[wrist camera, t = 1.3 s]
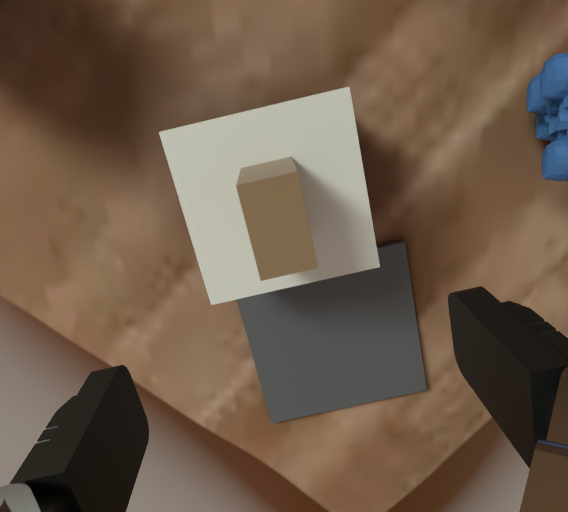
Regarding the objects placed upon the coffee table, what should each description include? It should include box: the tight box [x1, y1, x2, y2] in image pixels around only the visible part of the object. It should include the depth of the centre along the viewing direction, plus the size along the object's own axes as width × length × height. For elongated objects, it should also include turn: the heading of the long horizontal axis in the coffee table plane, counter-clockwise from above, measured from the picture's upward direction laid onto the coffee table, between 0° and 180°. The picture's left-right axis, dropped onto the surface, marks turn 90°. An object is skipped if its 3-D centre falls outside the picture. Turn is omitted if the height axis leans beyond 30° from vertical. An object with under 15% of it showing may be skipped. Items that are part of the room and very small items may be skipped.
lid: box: [159, 87, 380, 305], centre depth 27 cm, size 11×11×6 cm
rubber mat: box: [237, 240, 427, 423], centre depth 40 cm, size 14×14×1 cm
